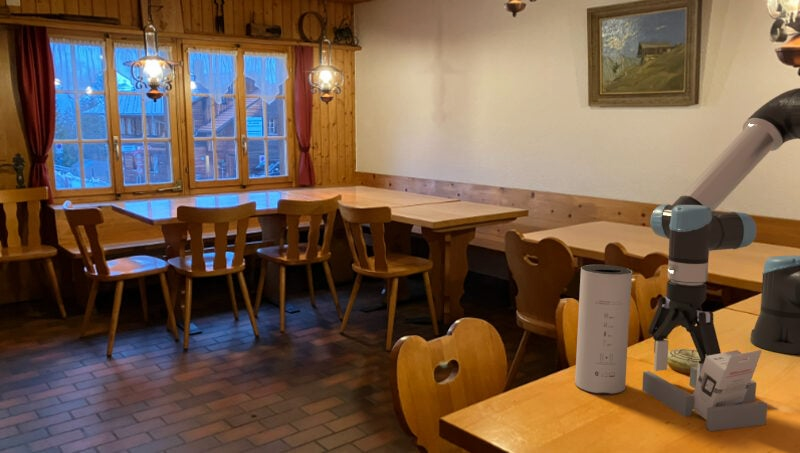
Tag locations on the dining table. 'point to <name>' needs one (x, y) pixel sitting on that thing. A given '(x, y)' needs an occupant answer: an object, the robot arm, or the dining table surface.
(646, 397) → the dining table surface
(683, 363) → the decorated donut
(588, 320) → the speaker
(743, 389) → the ink box
